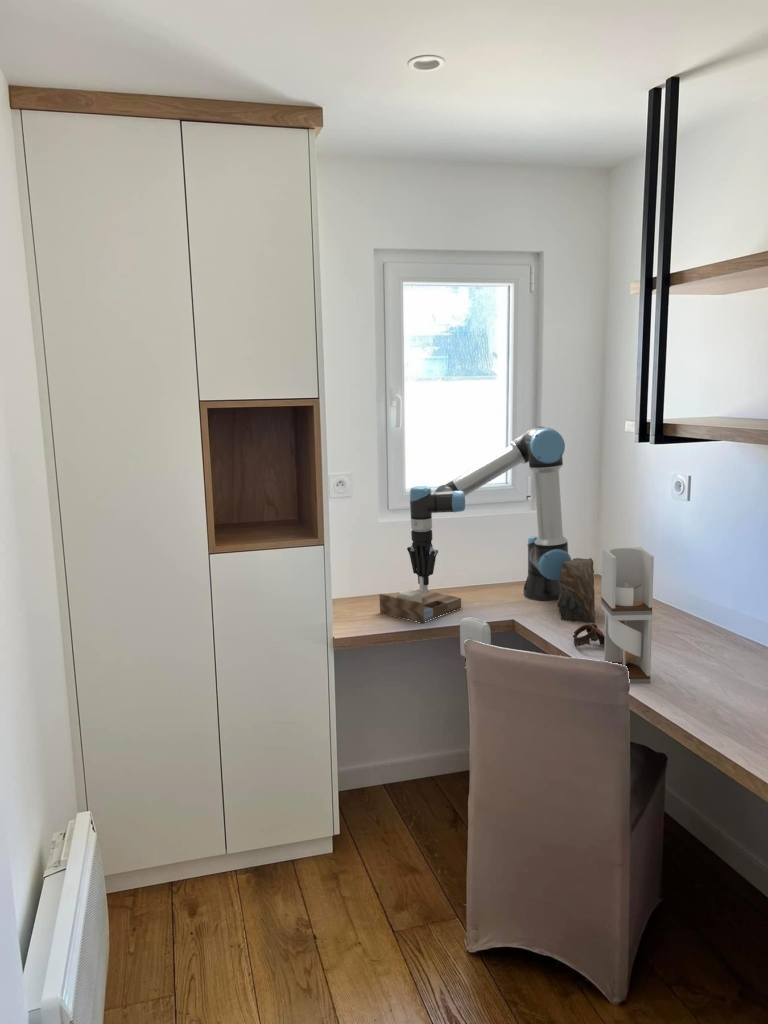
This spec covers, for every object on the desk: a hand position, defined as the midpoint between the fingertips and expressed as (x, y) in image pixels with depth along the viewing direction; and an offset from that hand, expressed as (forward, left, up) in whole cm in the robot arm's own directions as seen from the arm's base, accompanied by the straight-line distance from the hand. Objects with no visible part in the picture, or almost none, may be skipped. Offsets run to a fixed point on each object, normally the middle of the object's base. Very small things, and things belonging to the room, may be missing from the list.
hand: (423, 593), depth 275 cm
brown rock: (-49, -25, -6) cm, 55 cm away
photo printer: (-44, +28, -7) cm, 52 cm away
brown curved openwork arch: (-66, -2, -7) cm, 66 cm away
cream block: (0, +7, -2) cm, 7 cm away
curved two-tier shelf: (-84, +13, -6) cm, 85 cm away
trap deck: (0, +2, -6) cm, 6 cm away
